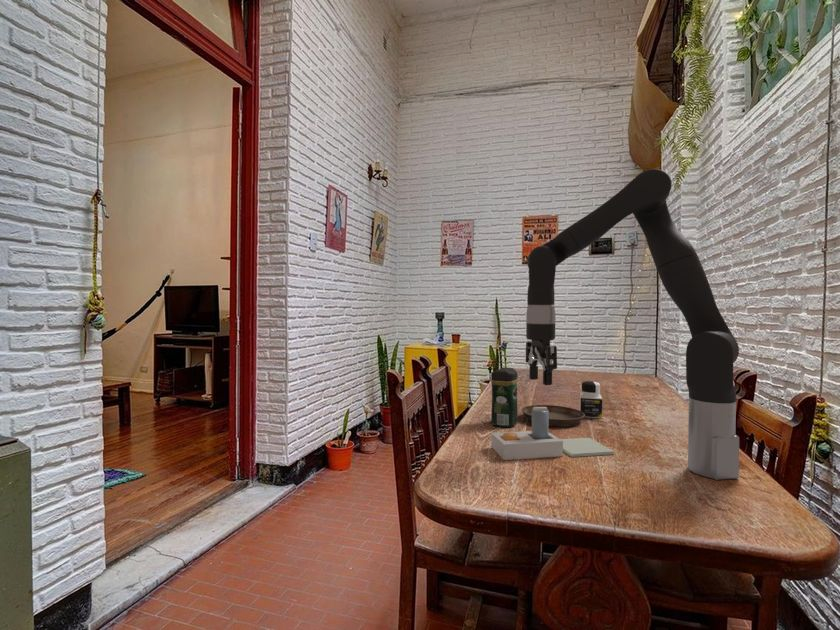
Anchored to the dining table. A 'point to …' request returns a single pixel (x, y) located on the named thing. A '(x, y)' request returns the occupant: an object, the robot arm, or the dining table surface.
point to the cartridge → (540, 423)
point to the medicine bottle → (591, 400)
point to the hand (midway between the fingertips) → (540, 382)
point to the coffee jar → (504, 397)
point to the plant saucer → (557, 415)
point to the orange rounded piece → (509, 436)
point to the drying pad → (584, 447)
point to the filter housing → (526, 446)
